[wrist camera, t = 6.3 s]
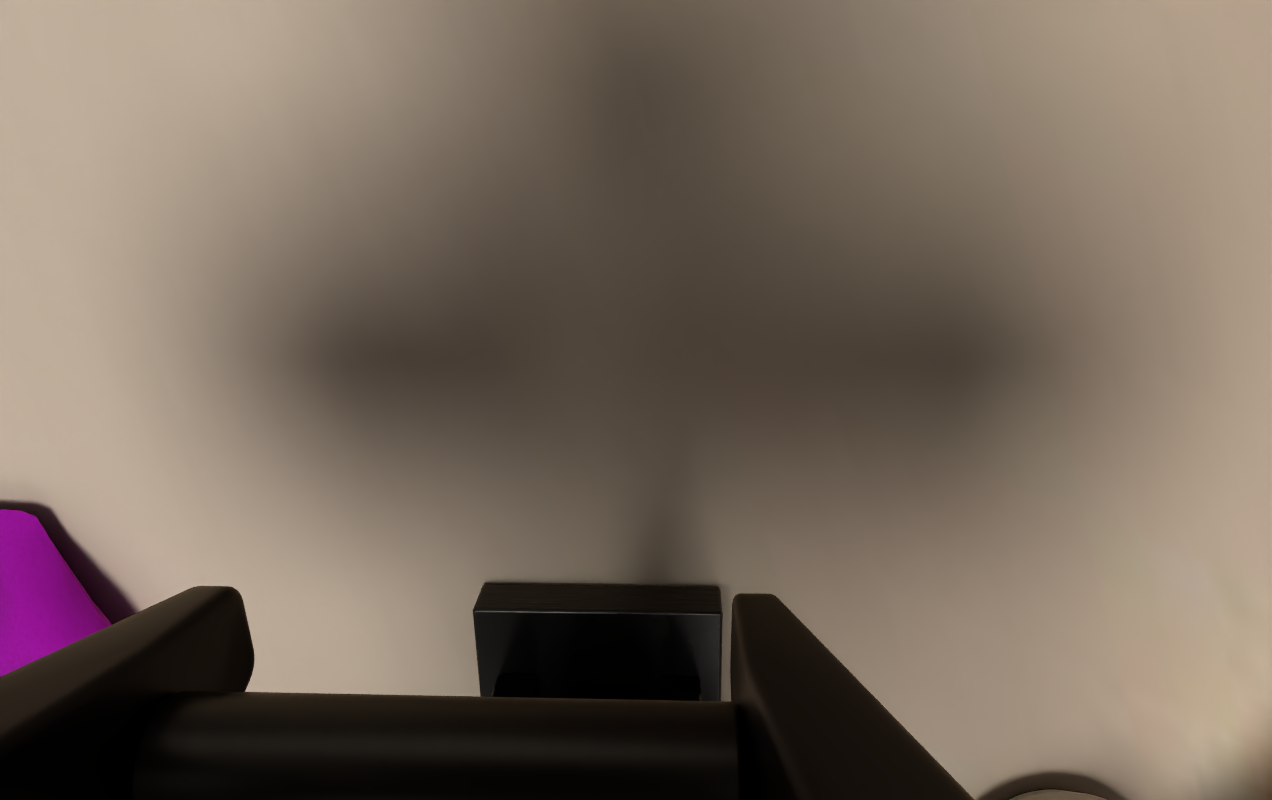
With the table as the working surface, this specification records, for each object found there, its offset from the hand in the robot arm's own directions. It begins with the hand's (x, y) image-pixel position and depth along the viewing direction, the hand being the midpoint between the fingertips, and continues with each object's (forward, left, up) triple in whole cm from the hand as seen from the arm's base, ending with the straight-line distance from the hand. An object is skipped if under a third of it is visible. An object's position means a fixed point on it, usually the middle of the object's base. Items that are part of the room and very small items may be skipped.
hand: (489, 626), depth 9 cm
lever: (-5, 0, -3) cm, 6 cm away
